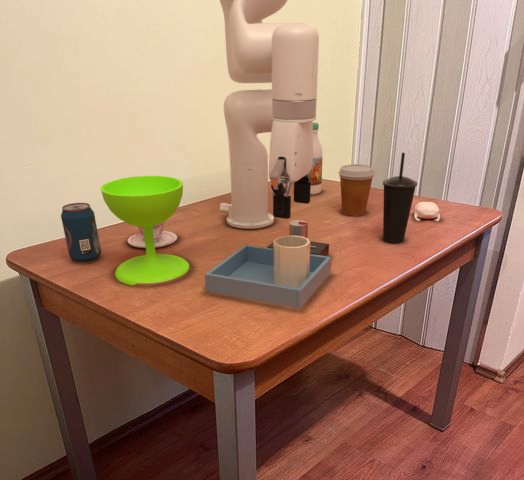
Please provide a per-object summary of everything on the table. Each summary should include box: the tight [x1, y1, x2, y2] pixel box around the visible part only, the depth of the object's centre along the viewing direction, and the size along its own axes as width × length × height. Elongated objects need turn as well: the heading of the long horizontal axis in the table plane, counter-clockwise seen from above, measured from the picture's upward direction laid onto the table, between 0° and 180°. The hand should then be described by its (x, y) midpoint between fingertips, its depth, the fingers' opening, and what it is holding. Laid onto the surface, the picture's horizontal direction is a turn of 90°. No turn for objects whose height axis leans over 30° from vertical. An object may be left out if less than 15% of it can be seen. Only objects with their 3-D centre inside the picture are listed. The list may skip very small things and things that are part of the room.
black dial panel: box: [266, 240, 330, 256], centre depth 119 cm, size 12×8×3 cm
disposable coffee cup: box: [338, 163, 376, 217], centre depth 145 cm, size 10×10×12 cm
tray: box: [204, 244, 332, 309], centre depth 107 cm, size 20×18×4 cm
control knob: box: [288, 219, 309, 239], centre depth 117 cm, size 4×4×5 cm
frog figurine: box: [413, 201, 441, 222], centre depth 143 cm, size 8×7×4 cm
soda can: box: [60, 202, 102, 265], centre depth 118 cm, size 7×7×12 cm
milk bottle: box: [308, 121, 323, 196], centre depth 163 cm, size 8×8×20 cm
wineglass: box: [99, 175, 190, 286], centre depth 110 cm, size 16×16×18 cm
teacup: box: [126, 222, 178, 249], centre depth 130 cm, size 12×12×6 cm
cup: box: [272, 235, 311, 288], centre depth 104 cm, size 7×7×9 cm
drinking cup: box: [382, 152, 418, 244], centre depth 124 cm, size 8×8×20 cm
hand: (292, 209), depth 100 cm, fingers open, 9 cm apart
